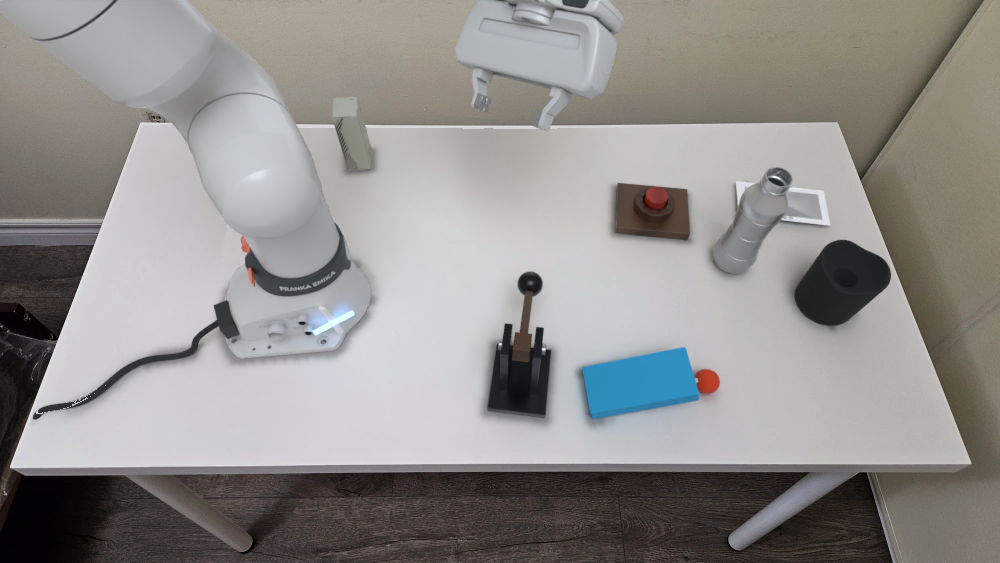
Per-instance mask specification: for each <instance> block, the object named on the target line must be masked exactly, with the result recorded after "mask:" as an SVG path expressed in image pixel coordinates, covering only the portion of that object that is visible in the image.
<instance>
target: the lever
mask: <svg viewBox="0 0 1000 563" xmlns="http://www.w3.org/2000/svg"><path fill="white" fill-rule="evenodd" d="M516 284H517V289H518V292H519V293H520V294H521V295H523V305H522V312H521V319H520V327H519V331H515V332H514V337H513V342H512V345H513V352H512V360H513V361H522V362H529V360H530V351H531V348H532V343H533V342H532V340H533V333H529V330H530V323H531V322H530V321H531V313H532V305H533V297H536V296H537V295H539V294H540V293H541V292H542V290H543V288H544V281H543V278H542V277H541V275H540V274H539V273H538V272H535V271H531V270H529V271H525V272H523V273H521V274H520V275H519V277H518V278H517V283H516Z"/></svg>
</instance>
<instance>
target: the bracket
mask: <svg viewBox="0 0 1000 563" xmlns="http://www.w3.org/2000/svg"><path fill="white" fill-rule="evenodd" d="M544 331H545V327H541V326H536V327H535V333H534V343H533V347H531V351H530V360H529V362H522V361H513V360H512V352H513V323H506V322H504V325H503V334H502V338H499V339H498V343H496V346H495V347H496V348H495V353H494V354H495V355H494V361H493V367H492V375H491V381H490V388H489V395H488V402H487V408H486V409H487V412H491V413H492V412H493V413H500V414H507V415H516V416H523V417H532V418H539V419H540V418H542V419H545V418H546V413H547V412H546V411H547V401H548V391H549V390H548V389H549V378H550V368H551V358H552V357H551V356H552V349H547V344H546V343H543V342H544Z"/></svg>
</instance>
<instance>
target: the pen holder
mask: <svg viewBox="0 0 1000 563" xmlns="http://www.w3.org/2000/svg"><path fill="white" fill-rule="evenodd" d="M891 280H892V272H891V267H890V266H889V264H888V262H887V260H886V259H884V258H883V257H882V256H880V255H879V254H877V253H874V252H872V251H870V250H868V249H865V248H863V247H862V246H860V245H858V244H857V243H856V242H854V241H851V240H848V239H837V240H833V241H830V242H829V243H827V244H826V245H825V246H824V247H823V248H822V249H821V251H820V252H819V254H818V255H817V257H816V258H815V259H814V260H813V263H812V264H811V265H810V266H809V268H808V269H807V271H806V272H805V274H804V275H803V277H802V278H801V280H800V281H799V283H798V284H797V286H796V288H795V291H794V299H795V303H796V305H797V307H798V309H799V310H800V311H801V312H802V314H803V315H804V316H806V317H807V318H808V319H810V320H811V321H813V322H815V323H818V324H821V325H824V326H839V325H843V324H845V323H846V322H848V321H849V320H851V319H852V318H853V317H854V316H855V315H857V314H859V312H860V311H861V310H863V309H864V308H865V307H867V305H868V304H869V303H871V302H872V301H873V300H874V299H875V298H877V297H878V296H879V295H880V294H881V293H882V292H884V291H885V290H886V288H888V286H889V285H890V283H891Z"/></svg>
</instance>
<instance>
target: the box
mask: <svg viewBox="0 0 1000 563" xmlns="http://www.w3.org/2000/svg"><path fill="white" fill-rule="evenodd" d="M331 121H332V122H333V125H334V126H333V127H334V129H335V132H336V135H337V139H338V142H339V146H340V148H341V151H342V154H343V157H344V161H345V164H346V168H347V170H348V172H349V171H350V172H353V171H365V170H366V171H367V170H371V169H372V167H373V149H372V146H371V142H370V138H369V134H368V130H367V127H366V122H365V118H364V115H363V110H362V107H361V102H360V100H359V96H345V97H335V98H334V97H333V98H332V104H331Z"/></svg>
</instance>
